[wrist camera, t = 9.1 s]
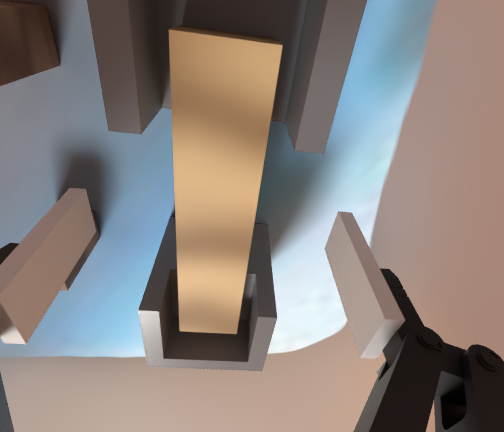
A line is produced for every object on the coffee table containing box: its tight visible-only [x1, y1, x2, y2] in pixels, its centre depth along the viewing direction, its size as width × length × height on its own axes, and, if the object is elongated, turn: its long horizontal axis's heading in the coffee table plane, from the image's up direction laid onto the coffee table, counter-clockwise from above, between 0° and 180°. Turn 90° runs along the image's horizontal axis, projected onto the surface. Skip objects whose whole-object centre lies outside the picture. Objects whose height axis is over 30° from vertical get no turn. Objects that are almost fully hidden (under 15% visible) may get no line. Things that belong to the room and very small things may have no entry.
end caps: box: [87, 0, 367, 371], centre depth 19 cm, size 24×8×10 cm, turn 173°
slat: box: [169, 25, 283, 334], centre depth 17 cm, size 18×4×2 cm, turn 173°
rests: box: [0, 0, 100, 291], centre depth 19 cm, size 17×3×6 cm, turn 173°
